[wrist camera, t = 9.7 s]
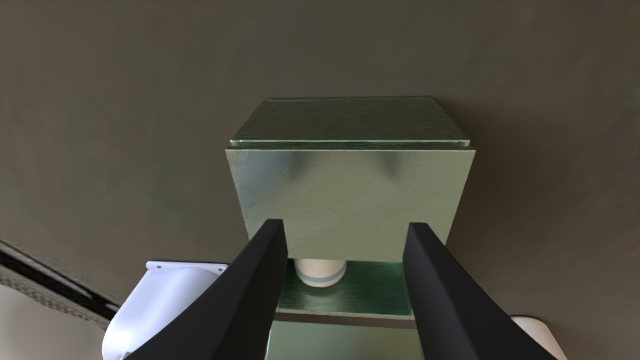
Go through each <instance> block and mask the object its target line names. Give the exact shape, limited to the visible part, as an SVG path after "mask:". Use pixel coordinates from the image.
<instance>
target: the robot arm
mask: <svg viewBox="0 0 640 360" xmlns="http://www.w3.org/2000/svg"><path fill="white" fill-rule="evenodd" d="M287 260H288V248H287V242H286V236H285V230H284V223H283V219H267V220H265V222H264V223H263V224H262V226H261V227H260V228H259V230H258V231H257V232H256V234H255V235H254V236H253V237H252V239H251V240H250V241H249V242H248V244H247V245H246V246H245V247H244V249H243V250H242V251H241V252H240V253H239V255H238V256H237V257H236V258H235V259H234V260H233V262H232V263H231V264H230V265H227V264H208V263H185V262H161V261H149V262H147V264H146V267H147V268H148V271H147V273H146V274H145V275H144V277H143V278H142V279H141V281H140V282H139V284H138V285H137V286H136V288H135V289H134V290H133V292H132V293H131V295H130V296H129V297H128V299H127V300H126V301H125V303H124V304H123V306H122V307H121V308H120V310H119V311H118V312H117V314H116V315H115V317H114V318H113V320H112V321H111V323H110V325H109V327H108V329H107V331H106V334H105V337H104V340H103V344H102V355H103V359H104V360H264V357H265V352H266V347H267V342H268V338H269V334H270V330H271V327H272V323H273V319H274V316H275V312H276V308H277V305H278V301H279V297H280V294H281V290H282V286H283V283H284V279H285V273H286V267H287ZM402 260H403V268H404V275H405V282H406V287H407V291H408V294H409V298H410V302H411V306H412V310H413V314H414V318H415V321H416V325H417V329H418V333H419V337H420V340H421V344H422V349H423V353H424V358H425V360H558V359H557V358H556V357H554V356H553V355H552V354H551V353H550V352H548V351H547V350H546V349H545V348H544V347H542V346H541V345H540V344H539V343H538V342H536V341H535V340H534V339H533V338H532V337H531V336H530V335H529V334H528V333H526V332H525V331H524V330H523V329H522V328H521V327H520V326H519V325H518V324H517V323H516V322H514V321H513V320H512V319H511V318H510V317H509V316H508V315H507V314H506V313H505V312H504V311H503V310H502V309H501V308H500V307H499V306H498V305H497V304H496V303H495V302H494V301H493V300H492V299H491V298H490V297H489V296H488V295H487V294H486V293H485V292H484V291H483V290H482V288H481V287H480V286H479V285H478V284H477V283H476V282H475V281H474V280H473V279H472V278H471V276H470V275H469V274H468V273H467V272H466V271H465V270H464V268H463V267H462V266H461V265H460V264H459V263H458V261H457V260H456V259H455V258H454V257H453V255H452V254H451V253H450V252H449V251H448V249H447V248H446V247H445V246H444V244H443V243H442V242H441V241H440V239H439V238H438V237H437V235H436V234H435V233H434V231H433V230H432V229H431V228H430V226H429V225H428V224H427V223H423V222H409V227H408V232H407V237H406V242H405V247H404V252H403V257H402Z"/></svg>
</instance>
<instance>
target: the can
mask: <svg viewBox="0 0 640 360" xmlns="http://www.w3.org/2000/svg"><path fill="white" fill-rule="evenodd" d="M510 318H511V319H512V320H513V321H514V322H516V323H517V324H518V325H519V326H520V327H521V328H522V329H523V330H524V331H525V332H526V333H528V334H529V335H530V336H531V337H532V338H533V339H534V340H535V341H536V342H538V343H539V344H540V345H541V346H542V347H544V348H545V349H546V350H547V351H548V352H550V353H551V354H552V355H553V356H554V357H556V358H557V359H558V360H567V358H566V357H565V355H564V353H563V352H562V350H561V348H560V347H559V345H558V344H557V342H556V340H555V339H554V337H553V336H552V334H551V332H550V331H549V329H548V328H547V326H546V325H545V324H544V323H543V322H541V321H539V320H537V319H535V318H533V317H528V316H511V317H510Z"/></svg>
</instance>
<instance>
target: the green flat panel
mask: <svg viewBox="0 0 640 360" xmlns="http://www.w3.org/2000/svg"><path fill="white" fill-rule="evenodd" d="M266 360H421V353H420V346H419V338H418V331H417V329H401V328H384V327H368V326H351V325H335V324H319V323H302V322H286V321H273V323H272V327H271V330H270V335H269V342H268V348H267V355H266Z"/></svg>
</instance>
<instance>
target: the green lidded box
mask: <svg viewBox="0 0 640 360" xmlns="http://www.w3.org/2000/svg"><path fill="white" fill-rule="evenodd" d="M469 143H470V139H469V138H468V137H467V136H466V135H465V134H464V133H463V131H462V130H461V129H460V128H459V127H458V126H457V125H456V124H455V122H454V121H453V120H452V119H451V118H450V117H449V116H448V114H447V113H446V112H445V111H444V110H443V109H442V108H441V106H440V105H439V104H438V103H437V102H436V101H435V100H434V99H433V97H432V96H401V97H336V98H271V99H264V100H263V101H262V102H261V104H260V105H259V106H258V107H257V108H256V110H255V111H254V112H253V113H252V115H251V116H250V117H249V118H248V120H247V121H246V122H245V123H244V124H243V126H242V127H241V128H240V129H239V131H238V132H237V133H236V134H235V136H234V137H233V138H232V139H231V145H232V146H228V147H227V148H226V154H227V158H228V162H229V165H230V169H231V173H232V176H233V180H234V184H235V188H236V191H237V195H238V199H239V202H240V206H241V210H242V213H243V217H244V221H245V225H246V228H247V232H248V236H249V239H250V240H251V239H252V237H253V236H254V235H255V234H256V232H257V231H258V230H259V228H260V227H261V226H262V224H263V223H264V222H265V220H267V219H283V223H284V230H285V236H286V242H287V248H288V260H287V267H286V273H285V279H284V283H283V286H282V290H281V294H280V297H279V301H278V305H277V308H276V312H283V313H300V314H317V315H335V316H352V317H369V318H387V319H404V320H415V318H414V314H413V310H412V306H411V302H410V298H409V294H408V291H407V287H406V282H405V275H404V268H403V260H402V257H403V252H404V247H405V242H406V237H407V232H408V227H409V222H423V223H427V224H428V225H429V226H430V228H431V229H432V230H433V231H434V233H435V234H436V235H437V237H438V238H439V239H440V241H441V242H442V243H443V244H444V246H445V244H446V241H447V238H448V235H449V232H450V229H451V226H452V223H453V220H454V217H455V213H456V210H457V207H458V204H459V201H460V198H461V195H462V192H463V189H464V186H465V183H466V180H467V177H468V174H469V171H470V168H471V164H472V161H473V158H474V155H475V152H476V150H475V149H474V147H472V146H469ZM294 258H297V259H323V260H347V263H346V270H345V273H344V275H343V276H342V278H341V279H340V280H339V281H337V282H336V283H334V284H332V285H330V286H326V287H314V286H310V285H308V284H306V283H304V282H303V281H302V280H301V279H300V278H299V276H298V275H297V272H296V269H295V265H294Z"/></svg>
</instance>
